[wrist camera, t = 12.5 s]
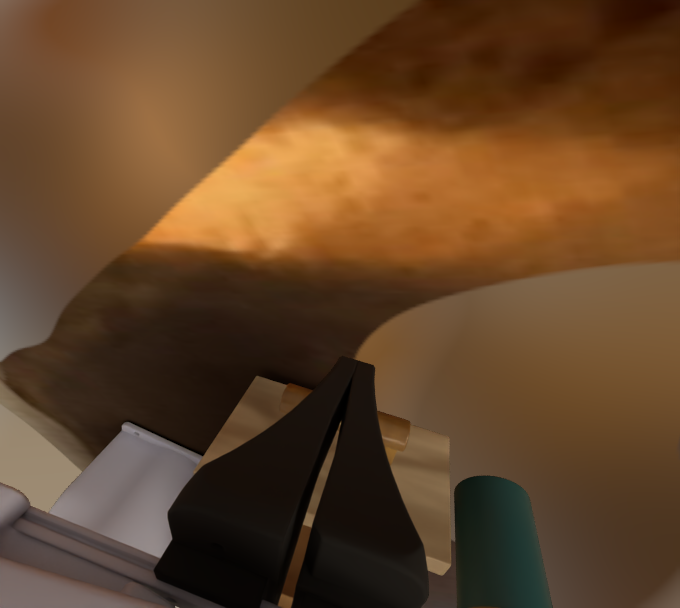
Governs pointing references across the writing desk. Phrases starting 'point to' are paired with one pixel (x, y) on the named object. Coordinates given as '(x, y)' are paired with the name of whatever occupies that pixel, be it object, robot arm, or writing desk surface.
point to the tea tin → (497, 547)
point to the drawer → (399, 441)
